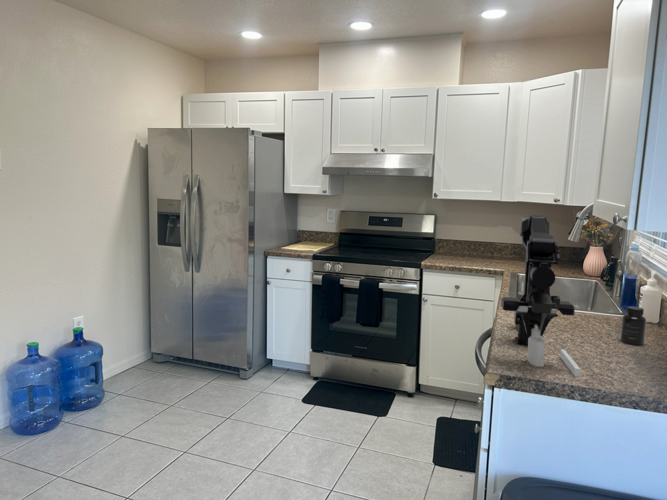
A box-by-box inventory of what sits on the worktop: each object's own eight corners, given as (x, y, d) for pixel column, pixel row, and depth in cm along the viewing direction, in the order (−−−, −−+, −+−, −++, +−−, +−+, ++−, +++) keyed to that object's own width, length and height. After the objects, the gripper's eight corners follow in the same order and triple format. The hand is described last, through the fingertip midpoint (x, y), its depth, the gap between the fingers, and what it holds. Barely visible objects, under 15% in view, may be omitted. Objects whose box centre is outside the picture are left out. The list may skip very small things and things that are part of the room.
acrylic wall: (559, 359, 147) (560, 349, 147) (563, 359, 147) (564, 349, 147) (574, 379, 132) (575, 368, 131) (579, 379, 131) (580, 368, 131)
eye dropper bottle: (544, 362, 143) (544, 322, 141) (543, 369, 138) (543, 328, 136) (528, 361, 144) (528, 321, 143) (526, 367, 139) (527, 327, 138)
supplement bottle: (622, 338, 171) (625, 304, 169) (645, 342, 166) (649, 307, 165) (618, 342, 165) (622, 307, 164) (642, 347, 161) (646, 311, 159)
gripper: (508, 285, 132) (504, 340, 134) (582, 289, 128) (577, 347, 130) (502, 277, 143) (498, 329, 145) (571, 281, 139) (566, 334, 141)
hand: (534, 335), depth 140 cm, fingers open, 3 cm apart
